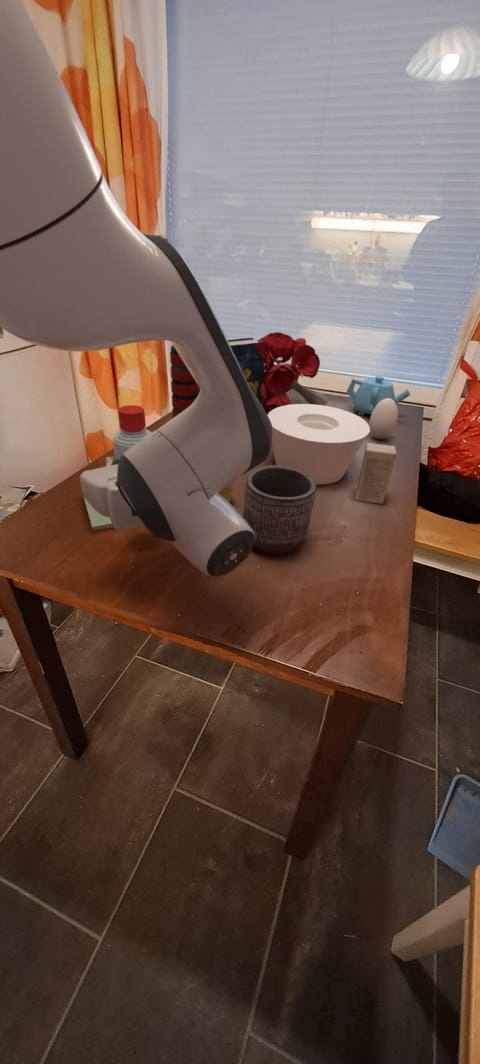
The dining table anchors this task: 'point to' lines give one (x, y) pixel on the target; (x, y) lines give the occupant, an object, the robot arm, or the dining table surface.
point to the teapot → (373, 393)
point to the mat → (97, 518)
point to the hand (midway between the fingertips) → (133, 456)
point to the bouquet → (287, 370)
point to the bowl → (316, 439)
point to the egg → (383, 418)
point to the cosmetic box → (375, 472)
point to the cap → (132, 418)
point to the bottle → (127, 440)
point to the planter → (278, 506)
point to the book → (188, 389)
